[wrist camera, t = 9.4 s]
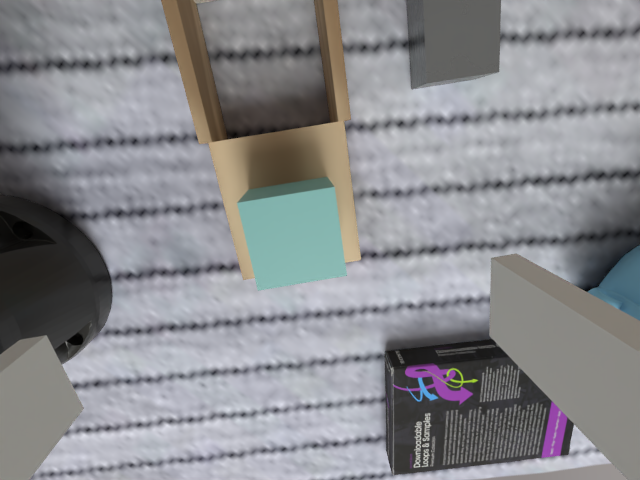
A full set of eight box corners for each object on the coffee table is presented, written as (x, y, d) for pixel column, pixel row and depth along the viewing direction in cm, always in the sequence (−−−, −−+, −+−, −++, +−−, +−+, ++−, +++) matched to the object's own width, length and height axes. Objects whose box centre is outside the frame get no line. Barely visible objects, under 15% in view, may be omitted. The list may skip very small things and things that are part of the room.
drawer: (247, 260, 28) (234, 293, 22) (179, -16, 21) (136, -70, 16) (355, 242, 28) (370, 269, 22) (320, -38, 22) (329, -99, 16)
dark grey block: (411, 89, 24) (426, 83, 22) (404, -38, 22) (420, -64, 19) (475, 79, 25) (499, 71, 22) (476, -49, 22) (502, -76, 19)
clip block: (264, 262, 24) (258, 290, 20) (248, 189, 22) (236, 202, 18) (337, 250, 24) (346, 275, 20) (327, 176, 22) (334, 186, 18)
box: (564, 325, 34) (381, 345, 32) (594, 345, 30) (392, 369, 29) (545, 427, 38) (382, 449, 37) (569, 455, 35) (392, 480, 33)
